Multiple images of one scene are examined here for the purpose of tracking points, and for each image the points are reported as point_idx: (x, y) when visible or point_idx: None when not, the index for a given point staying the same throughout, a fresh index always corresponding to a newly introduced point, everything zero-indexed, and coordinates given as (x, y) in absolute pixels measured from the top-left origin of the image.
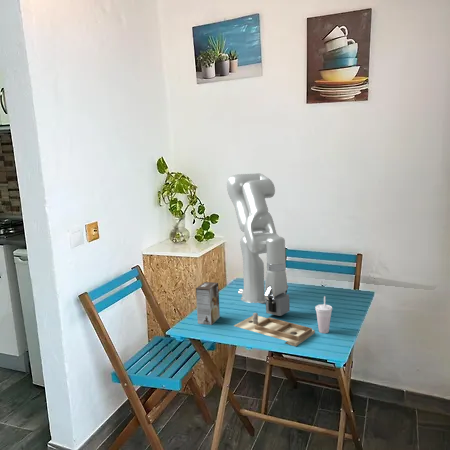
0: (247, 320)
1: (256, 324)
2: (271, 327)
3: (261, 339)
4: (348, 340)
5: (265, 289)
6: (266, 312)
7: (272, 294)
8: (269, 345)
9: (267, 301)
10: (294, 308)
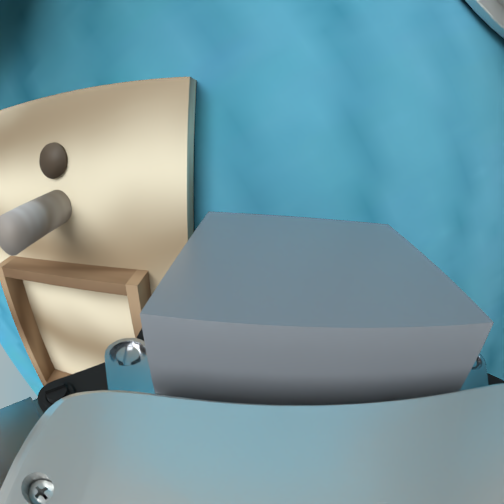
0: (59, 120)
1: (7, 268)
2: (83, 327)
3: (9, 312)
4: None
5: (3, 489)
6: (206, 217)
7: (351, 369)
8: (12, 354)
9: (110, 345)
10: (497, 274)
